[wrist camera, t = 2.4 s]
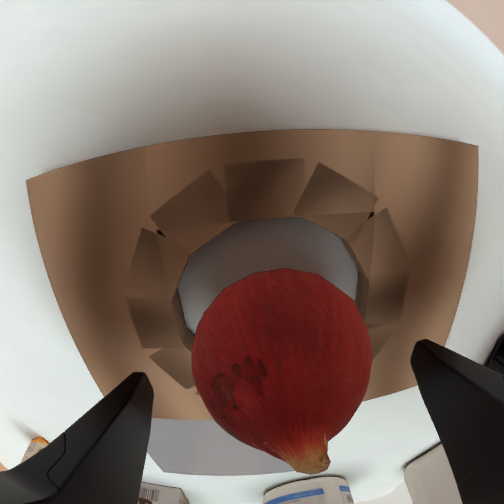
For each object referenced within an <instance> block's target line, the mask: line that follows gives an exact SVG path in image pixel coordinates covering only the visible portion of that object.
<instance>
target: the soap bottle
mask: <svg viewBox="0 0 504 504" xmlns="http://www.w3.org/2000/svg"><path fill="white" fill-rule="evenodd" d="M404 480H405V483H406V485H407V488H408V491H409V493H410V496H411V499H412V501H413V504H462V501H461V497H460V494H459V491H458V488H457V484H456V481H455V478H454V475H453V472H452V470H451V467H450V464H449V461H448V459H447V456H446V453H445V451H444V448H443V446H442V443H441V444H440V445H439V446H437V447H435V448H434V449H432V450H431V451H429V452H428V453H426V454H424V455H423V456H421V457H419V458H418V459H416V460H414V461H413V462H411V463H410V464H409V465H408V466H407V468H406V470H405V472H404Z"/></svg>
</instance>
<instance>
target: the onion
mask: <svg viewBox="0 0 504 504" xmlns="http://www.w3.org/2000/svg"><path fill="white" fill-rule="evenodd" d="M371 365H372V343H371V339H370V336H369V333H368V330H367V327H366V324H365V322H364V320H363V318H362V316H361V314H360V312H359V310H358V308H357V306H356V304H355V302H354V300H353V299H351V298H350V297H349V296H347V295H346V294H345V293H343V292H342V291H341V290H339V289H338V288H337V287H335V286H334V285H332V284H331V283H330V282H328V281H327V280H325V279H324V278H323V277H321V276H320V275H318V274H315V273H310V272H304V271H299V270H293V269H288V268H283V269H277V270H271V271H265V272H259V273H254V274H251V275H249V276H247V277H245V278H244V279H242V280H240V281H238V282H236V283H234V284H232V285H231V286H229V287H227V288H225V289H223V291H222V292H221V293H220V294H219V295H218V297H217V298H216V299H215V300H214V301H213V302H212V304H211V305H210V306H209V307H208V308H207V310H206V311H205V312H204V314H203V316H202V318H201V320H200V322H199V324H198V326H197V329H196V334H195V339H194V344H193V349H192V354H191V368H192V376H193V379H194V382H195V385H196V388H197V390H198V392H199V394H200V396H201V398H202V400H203V402H204V404H205V406H206V408H207V410H208V412H209V413H210V415H211V416H212V417H213V419H214V420H215V422H216V423H217V424H218V425H219V426H220V427H221V428H222V429H224V430H225V431H226V432H227V433H228V434H230V435H231V436H233V437H234V438H235V439H237V440H238V441H240V442H242V443H244V444H246V445H248V446H250V447H253V448H255V449H258V450H261V451H264V452H266V453H268V454H269V455H271V456H273V457H275V458H278V459H281V460H282V461H284V462H286V463H288V464H289V465H290V466H291V467H292V468H293V469H294V470H295V471H296V472H301V473H306V474H310V475H312V474H317V473H320V472H323V471H325V470H327V469H328V467H329V464H330V462H331V461H330V459H329V457H328V455H327V451H328V441H329V440H331V439H332V438H333V437H334V436H336V435H337V434H338V433H339V432H340V431H341V430H342V429H343V428H344V427H345V426H346V425H347V424H348V422H349V421H350V420H351V418H352V417H353V415H354V413H355V412H356V410H357V409H358V407H359V405H360V404H361V402H362V400H363V398H364V396H365V394H366V392H367V388H368V384H369V380H370V373H371Z"/></svg>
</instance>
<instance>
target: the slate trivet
mask: <svg viewBox="0 0 504 504" xmlns="http://www.w3.org/2000/svg"><path fill="white" fill-rule="evenodd" d="M147 453H148V454H149V455H150V456H151V458H152V459H153V460H154V461H155V462H156V464H157V465H158V466H159V467H160V468H161V470H162V471H163V472H168V473H177V474H190V475H213V476H235V475H258V474H271V473H281V472H289V471H295V470H294V469H293V468H292V467H291V466H290V465H289V464H288V463H286V462H284V461H282V460H281V459H278V458H275V457H273V456H271V455H269V454H268V453H266V452H264V451H261V450H258V449H255V448H253V447H250V446H248V445H246V444H244V443H242V442H240V441H238V440H237V439H235V438H234V437H233V436H231V435H230V434H228V433H227V432H226V431H225V430H224V429H222V428H221V427H220V426H219V425H218V424H217V423H216V422H215V420H176V419H160V418H152V421H151V432H150V438H149V443H148V448H147Z"/></svg>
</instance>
